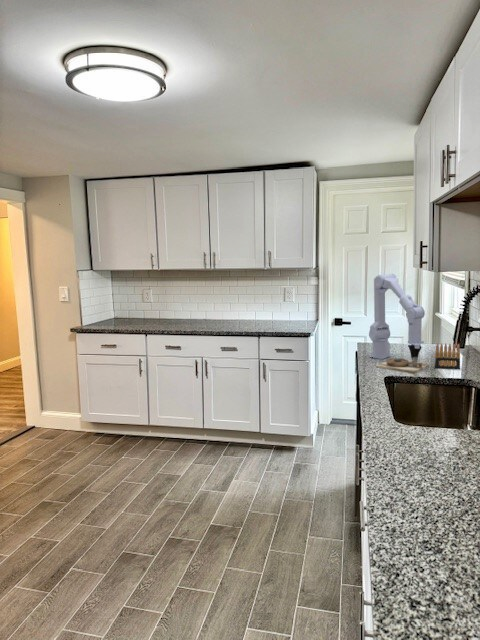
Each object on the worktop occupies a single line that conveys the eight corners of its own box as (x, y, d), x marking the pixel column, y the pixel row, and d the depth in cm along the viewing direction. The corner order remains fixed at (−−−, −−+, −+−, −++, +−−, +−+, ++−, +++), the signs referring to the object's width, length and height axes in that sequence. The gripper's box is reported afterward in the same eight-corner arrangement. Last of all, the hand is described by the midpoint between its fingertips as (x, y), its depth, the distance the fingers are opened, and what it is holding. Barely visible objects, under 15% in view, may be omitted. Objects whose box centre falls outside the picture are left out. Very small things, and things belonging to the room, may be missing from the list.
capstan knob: (383, 365, 213) (383, 356, 212) (390, 360, 220) (390, 352, 220) (413, 368, 204) (413, 359, 204) (419, 363, 212) (420, 355, 211)
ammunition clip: (434, 368, 208) (435, 343, 206) (434, 367, 210) (435, 342, 208) (460, 369, 205) (460, 343, 203) (459, 368, 206) (460, 343, 205)
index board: (392, 360, 225) (392, 355, 225) (429, 366, 211) (429, 360, 211) (375, 367, 214) (375, 361, 214) (413, 373, 201) (413, 367, 200)
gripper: (426, 335, 201) (426, 364, 203) (421, 329, 215) (420, 356, 217) (410, 335, 203) (410, 363, 205) (405, 329, 217) (405, 356, 219)
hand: (414, 360), depth 211 cm, fingers closed
